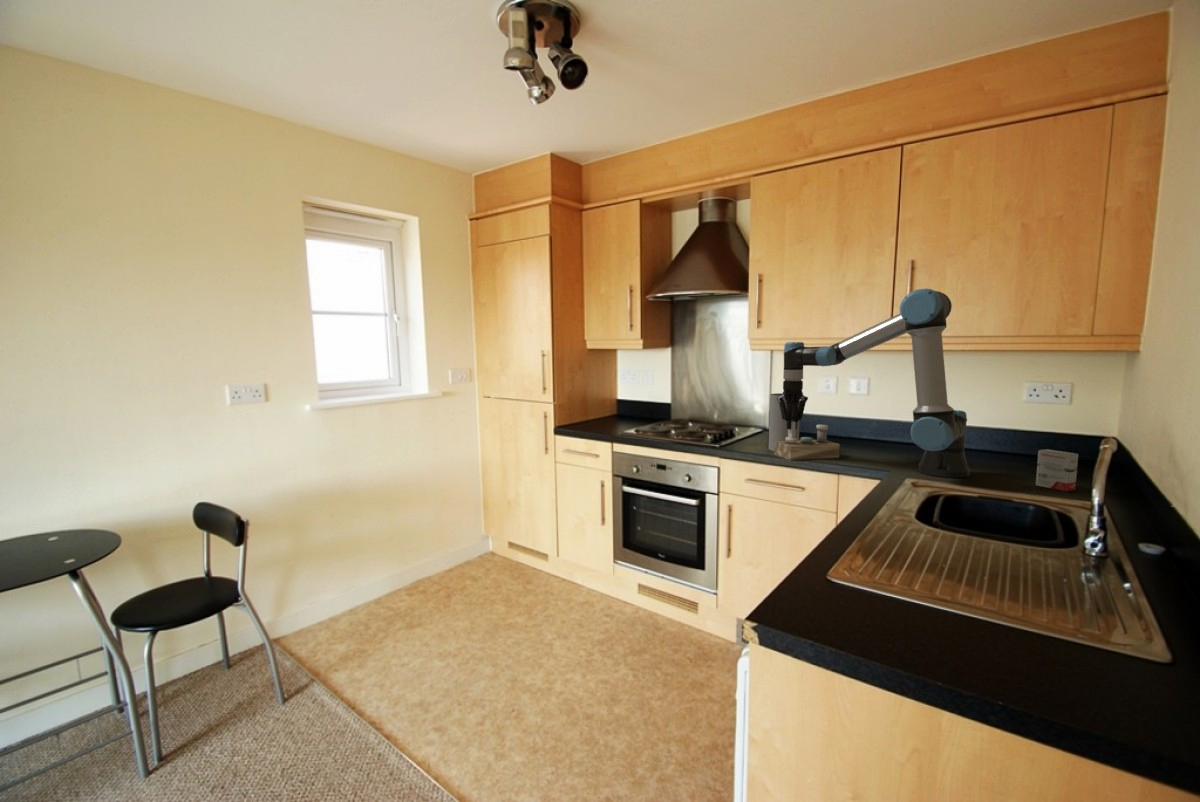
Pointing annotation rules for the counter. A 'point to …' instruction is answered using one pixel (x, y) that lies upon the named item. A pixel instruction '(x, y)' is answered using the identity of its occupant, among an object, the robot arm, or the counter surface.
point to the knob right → (821, 433)
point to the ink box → (1057, 470)
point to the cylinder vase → (778, 423)
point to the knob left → (791, 440)
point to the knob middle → (806, 440)
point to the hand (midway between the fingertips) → (791, 437)
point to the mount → (807, 450)
